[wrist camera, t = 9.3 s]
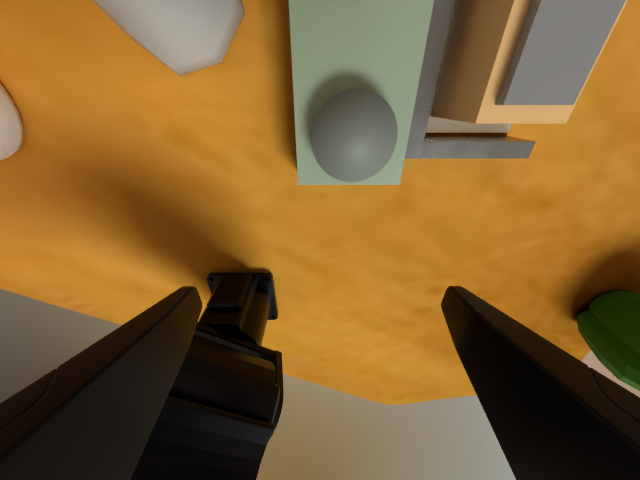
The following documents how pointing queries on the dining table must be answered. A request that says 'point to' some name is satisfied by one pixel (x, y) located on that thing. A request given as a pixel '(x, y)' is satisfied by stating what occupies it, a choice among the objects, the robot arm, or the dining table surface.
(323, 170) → the sage green knobbed slab
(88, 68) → the dining table surface
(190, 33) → the flask
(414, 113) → the bracket
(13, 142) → the milk bottle
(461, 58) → the tan and grey block
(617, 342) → the bell pepper
